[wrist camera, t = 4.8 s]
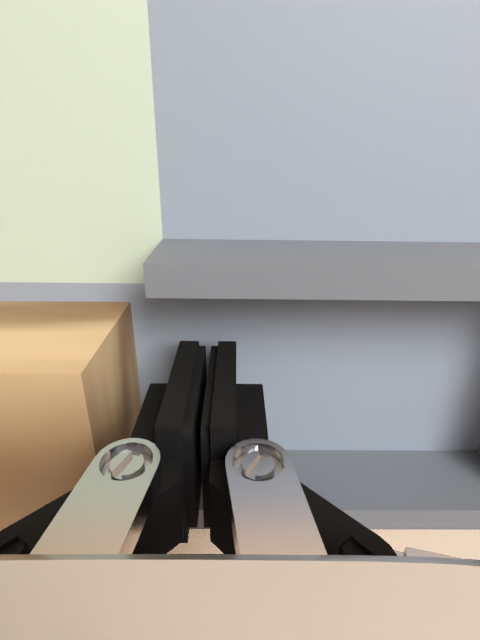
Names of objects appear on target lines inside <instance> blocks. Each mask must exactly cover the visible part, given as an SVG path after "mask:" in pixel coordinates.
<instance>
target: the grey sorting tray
mask: <svg viewBox="0 0 480 640" xmlns="http://www.w3.org/2000/svg"><path fill="white" fill-rule="evenodd" d="M0 301H57V302H130V304H131V313H132V321H133V330H134V339H135V348H136V357H137V366H138V375H139V384H140V393H141V402H142V404H143V402H144V399H145V396H146V394H147V391H148V388H149V386H150V384H151V383H168V380H169V376H170V373H171V370H172V366H173V363H174V359H175V356H176V353H177V349H178V346H179V342H180V341H199V346H206V367H207V374H208V366H209V358H210V351H211V346H218V341H236V384H262V385H263V393H264V402H265V411H266V420H267V430H268V439H269V440H270V441H273V442H275V443H277V444H279V445H280V446H282V447H283V448H284V449H285V450H286V451H287V453H288V454H289V456H290V458H291V460H292V463H293V465H294V468H295V471H296V473H297V476H298V479H299V481H300V482H301V483H302V484H304V485H305V486H307V487H308V488H310V489H311V490H312V491H314V492H315V493H317V494H318V495H320V496H321V497H323V498H324V499H326V500H327V501H329V502H330V503H332V504H333V505H334V506H336V507H337V508H339V509H340V510H342V511H343V512H345V513H346V514H348V515H349V516H351V517H352V518H353V519H355V520H356V521H358V522H359V523H361V524H362V525H364V526H365V527H367V528H368V529H480V0H0ZM189 529H210V528H204V519H203V491H202V488H201V498H200V508H199V517H198V526H197V528H189Z"/></svg>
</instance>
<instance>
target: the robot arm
mask: <svg viewBox="0 0 480 640" xmlns="http://www.w3.org/2000/svg"><path fill="white" fill-rule="evenodd" d="M201 488H202V491H203V519H204V528H210V540H211V542H212V543H213V544H214V545H216V546H217V547H218V548H219V549H220V550H221V551H222V552H223V553H224V554H169V551H170V550H172V549H173V548H174V547H175V546H177V545H178V544H179V543H188V535H189V528H197V526H198V517H199V508H200V498H201ZM0 640H480V560H473V559H461V558H456V557H451V556H447V555H442V554H437V553H433V552H428V551H423V550H419V549H414V548H409V547H405V551H404V552H399V551H394V550H393V549H392V547H391V546H390V545H389V544H388V543H387V542H386V541H384V540H383V539H382V538H381V537H380V536H378V535H377V534H375V533H374V532H372V531H371V530H370V529H368V528H367V527H365V526H364V525H362V524H361V523H359V522H358V521H356V520H355V519H353V518H352V517H351V516H349V515H348V514H346V513H345V512H343V511H342V510H340V509H339V508H337V507H336V506H334V505H333V504H332V503H330V502H329V501H327V500H326V499H324V498H323V497H321V496H320V495H318V494H317V493H315V492H314V491H312V490H311V489H310V488H308V487H307V486H305V485H304V484H302V483H301V482H300V481H299V479H298V476H297V473H296V471H295V468H294V465H293V463H292V460H291V458H290V456H289V454H288V453H287V451H286V450H285V449H284V448H283V447H282V446H280V445H279V444H277V443H275V442H273V441H270V440H269V439H268V430H267V420H266V411H265V402H264V393H263V385H262V384H236V341H218V346H211V351H210V358H209V366H208V374H207V367H206V346H199V341H180V342H179V346H178V349H177V353H176V356H175V359H174V363H173V366H172V370H171V373H170V376H169V380H168V383H151V384H150V386H149V388H148V391H147V394H146V396H145V399H144V402H143V404H142V407H141V410H140V413H139V415H138V418H137V421H136V423H135V426H134V429H133V432H132V434H131V437H130V438H127V439H122V440H118V441H116V442H113V443H111V444H109V445H108V446H106V447H105V448H103V449H102V450H101V451H100V452H99V453H98V454H97V455H96V456H95V457H94V459H93V460H92V462H91V463H90V465H89V466H88V468H87V469H86V471H85V472H84V474H83V475H82V477H81V478H80V480H79V481H78V483H77V484H76V486H75V487H74V489H73V490H71V491H69V492H67V493H66V494H64V495H62V496H60V497H59V498H57V499H55V500H53V501H52V502H50V503H48V504H46V505H45V506H43V507H41V508H39V509H38V510H36V511H34V512H32V513H31V514H29V515H27V516H25V517H24V518H22V519H20V520H18V521H17V522H15V523H13V524H11V525H10V526H8V527H6V528H4V529H3V530H1V531H0Z"/></svg>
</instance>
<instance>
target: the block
mask: <svg viewBox="0 0 480 640" xmlns="http://www.w3.org/2000/svg"><path fill="white" fill-rule="evenodd" d="M141 407H142V402H141V393H140V384H139V375H138V366H137V357H136V348H135V339H134V330H133V321H132V313H131V304H130V302H57V301H0V531H1V530H3V529H4V528H6V527H8V526H10V525H11V524H13V523H15V522H17V521H18V520H20V519H22V518H24V517H25V516H27V515H29V514H31V513H32V512H34V511H36V510H38V509H39V508H41V507H43V506H45V505H46V504H48V503H50V502H52V501H53V500H55V499H57V498H59V497H60V496H62V495H64V494H66V493H67V492H69V491H71V490H73V489H74V487H75V486H76V484H77V483H78V481H79V480H80V478H81V477H82V475H83V474H84V472H85V471H86V469H87V468H88V466H89V465H90V463H91V462H92V460H93V459H94V457H95V456H96V455H97V454H98V453H99V452H100V451H101V450H102V449H103V448H105V447H106V446H108V445H109V444H111V443H113V442H116V441H118V440H122V439H127V438H130V437H131V434H132V432H133V429H134V426H135V423H136V421H137V418H138V415H139V413H140V410H141Z"/></svg>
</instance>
